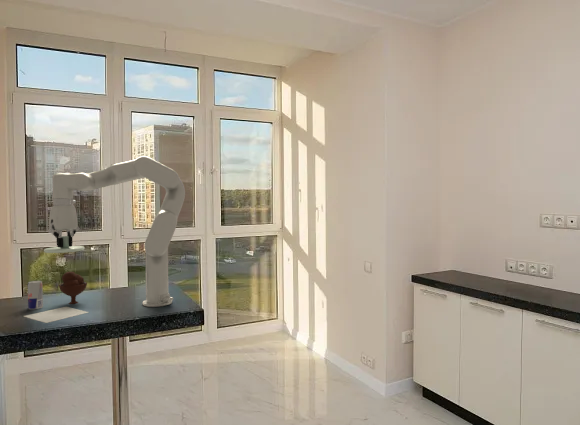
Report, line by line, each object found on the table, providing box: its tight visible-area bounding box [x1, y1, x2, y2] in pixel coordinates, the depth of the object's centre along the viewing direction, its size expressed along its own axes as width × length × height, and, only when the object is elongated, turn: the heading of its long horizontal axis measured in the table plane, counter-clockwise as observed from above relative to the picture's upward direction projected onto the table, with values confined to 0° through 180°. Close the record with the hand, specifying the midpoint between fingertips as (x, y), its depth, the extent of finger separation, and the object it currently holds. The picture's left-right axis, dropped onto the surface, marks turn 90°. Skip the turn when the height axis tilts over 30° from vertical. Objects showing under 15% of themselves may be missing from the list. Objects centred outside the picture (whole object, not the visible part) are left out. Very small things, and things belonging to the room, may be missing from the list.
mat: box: [22, 306, 90, 324], centre depth 167 cm, size 17×17×1 cm
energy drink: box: [27, 280, 44, 310], centre depth 177 cm, size 5×5×12 cm
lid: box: [43, 235, 85, 254], centre depth 176 cm, size 15×15×6 cm
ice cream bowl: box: [58, 271, 88, 305], centre depth 185 cm, size 11×11×15 cm
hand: (64, 246), depth 176 cm, fingers closed on lid, 3 cm apart
